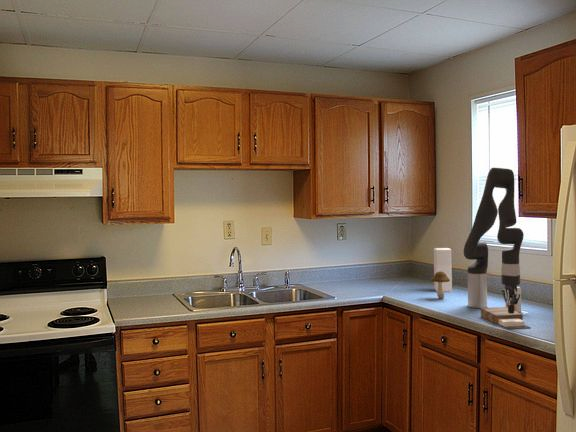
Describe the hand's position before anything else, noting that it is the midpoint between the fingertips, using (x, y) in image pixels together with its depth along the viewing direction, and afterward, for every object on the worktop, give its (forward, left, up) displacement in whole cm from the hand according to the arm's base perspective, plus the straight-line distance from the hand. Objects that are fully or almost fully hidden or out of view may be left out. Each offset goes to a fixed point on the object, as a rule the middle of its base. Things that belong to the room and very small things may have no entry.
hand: (511, 313), depth 240 cm
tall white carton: (-88, 0, -5) cm, 88 cm away
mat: (+3, 0, -5) cm, 6 cm away
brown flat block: (-10, 0, -5) cm, 11 cm away
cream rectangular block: (+1, -1, -5) cm, 5 cm away
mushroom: (-64, -10, -5) cm, 65 cm away
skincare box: (-26, +13, -5) cm, 30 cm away
